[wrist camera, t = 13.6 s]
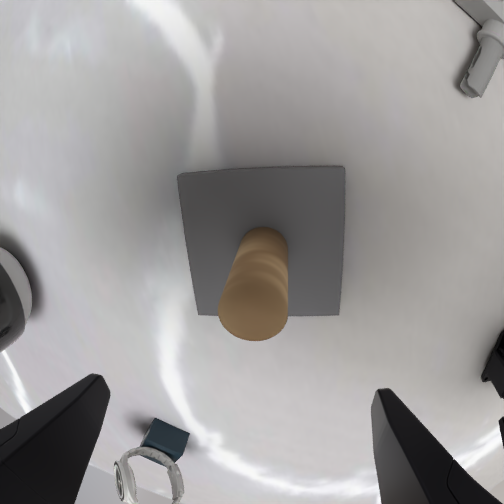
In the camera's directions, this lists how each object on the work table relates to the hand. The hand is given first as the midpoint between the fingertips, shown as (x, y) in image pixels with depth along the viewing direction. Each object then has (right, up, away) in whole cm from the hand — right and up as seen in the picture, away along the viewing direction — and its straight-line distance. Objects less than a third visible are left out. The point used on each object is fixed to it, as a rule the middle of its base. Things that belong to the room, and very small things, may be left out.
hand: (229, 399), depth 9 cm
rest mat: (+2, +5, +12) cm, 13 cm away
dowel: (+1, +5, +11) cm, 12 cm away
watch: (-10, -17, +23) cm, 30 cm away
